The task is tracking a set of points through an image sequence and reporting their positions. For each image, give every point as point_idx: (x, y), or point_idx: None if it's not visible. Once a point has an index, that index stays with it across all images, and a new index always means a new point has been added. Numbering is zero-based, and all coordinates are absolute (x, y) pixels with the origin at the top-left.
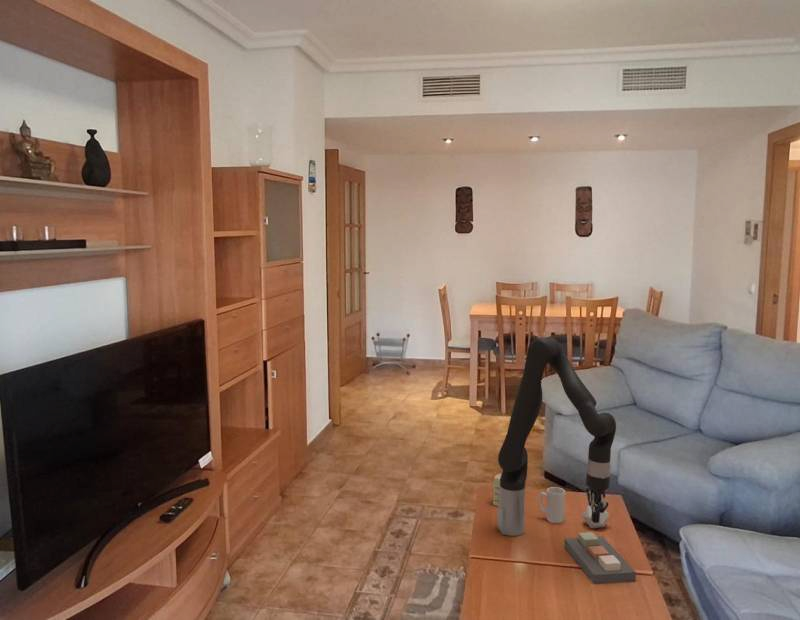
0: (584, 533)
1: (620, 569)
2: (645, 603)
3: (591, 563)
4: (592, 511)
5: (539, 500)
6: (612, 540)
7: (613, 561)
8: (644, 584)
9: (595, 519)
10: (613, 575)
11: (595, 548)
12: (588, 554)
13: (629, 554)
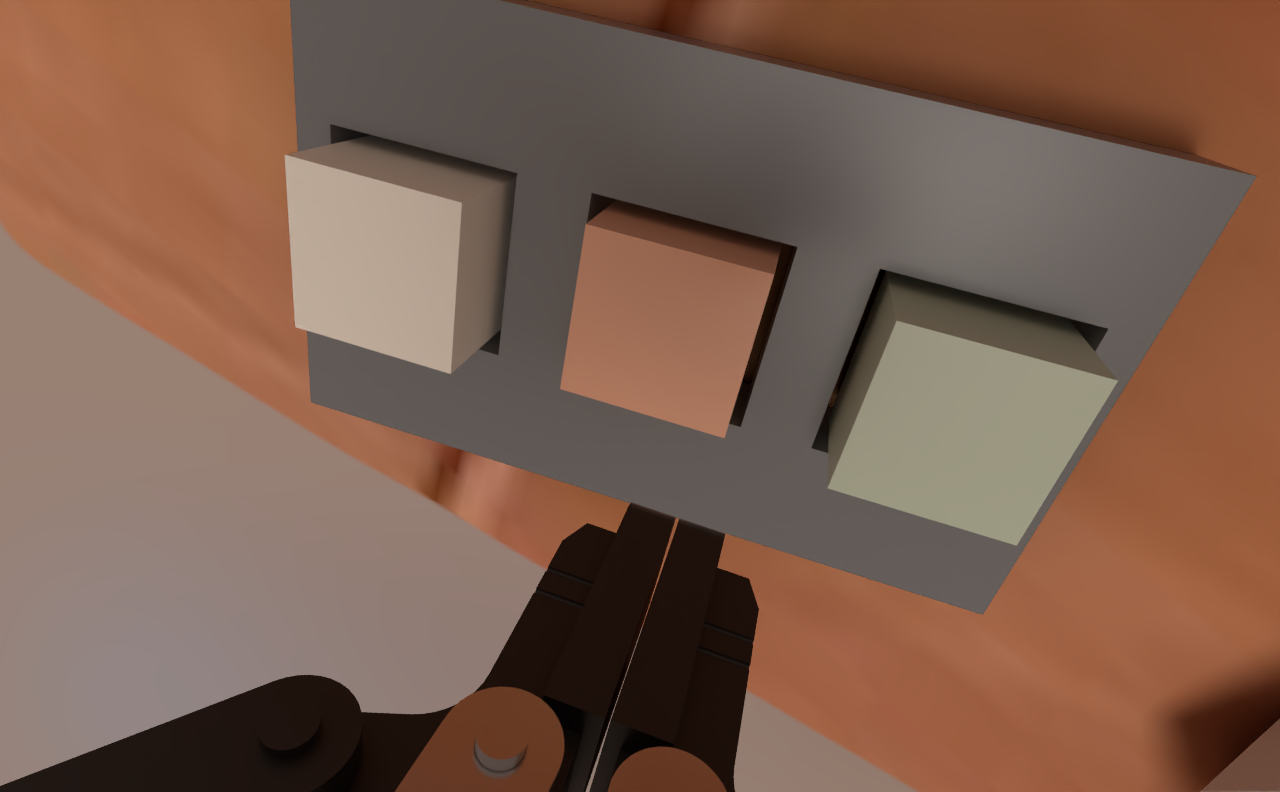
0: (1050, 441)
1: None
2: (87, 213)
3: (515, 97)
4: (631, 718)
5: None
6: (972, 668)
7: (326, 278)
8: None
9: (552, 565)
10: None
11: (701, 327)
12: (708, 206)
13: None
